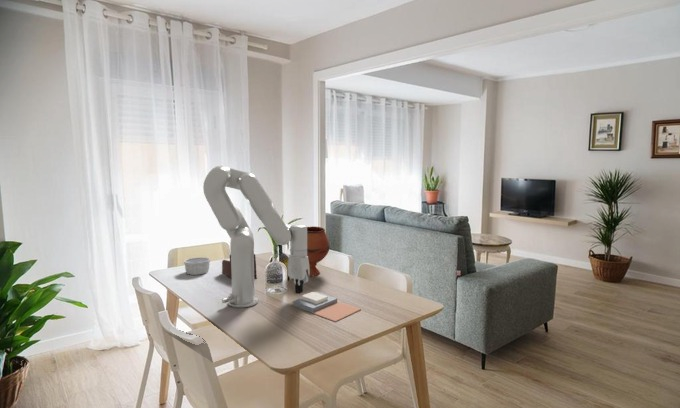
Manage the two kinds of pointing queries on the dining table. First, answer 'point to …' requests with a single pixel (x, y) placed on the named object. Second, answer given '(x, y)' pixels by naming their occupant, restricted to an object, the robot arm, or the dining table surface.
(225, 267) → the letter holder
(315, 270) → the goblet
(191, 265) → the ramekin
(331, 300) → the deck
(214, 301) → the dining table surface
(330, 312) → the mat
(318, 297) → the ceramic tile
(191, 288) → the dining table surface
